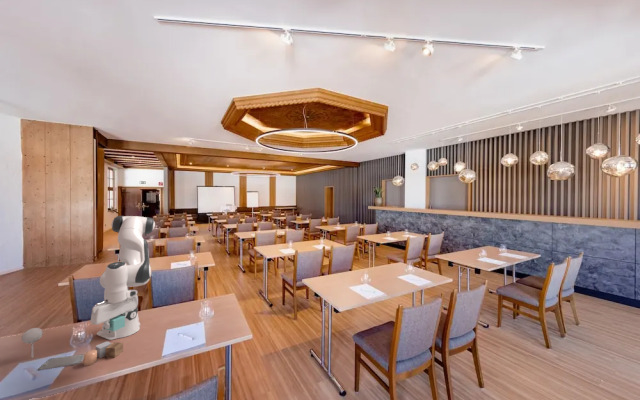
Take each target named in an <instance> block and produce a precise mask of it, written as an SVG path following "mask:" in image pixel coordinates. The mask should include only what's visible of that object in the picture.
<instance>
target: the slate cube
mask: <svg viewBox="0 0 640 400" xmlns="http://www.w3.org/2000/svg"><path fill="white" fill-rule="evenodd" d="M111 344H112V343H111V342H109V340H107V341H105V342H102V343H99V344H97V345H95V350H97V358H103V357H106V347H108V346H109V345H111Z"/></svg>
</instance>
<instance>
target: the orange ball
mask: <svg viewBox="0 0 640 400" xmlns="http://www.w3.org/2000/svg"><path fill="white" fill-rule="evenodd" d="M83 354H84V358H83V360H82V362H83V366H84V367H88V366H89V367H90V366H92V365H94V364H96V363H97V361H98V356H97V350H96V349H91V350H88V351H85V353H83Z"/></svg>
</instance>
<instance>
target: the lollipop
mask: <svg viewBox="0 0 640 400" xmlns="http://www.w3.org/2000/svg"><path fill="white" fill-rule="evenodd" d="M43 334H44V333H43V329H41V328H39V327H33V328H29V329H28V330H26V331H25V332H23V334H22V336H21V341H22V343H24V344H27V345H28V344H31V351H30V354H31V356H30V357H31V359H33V358H34V343H36V342H38V341H39V340H40V339H41V338H42V336H43Z"/></svg>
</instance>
